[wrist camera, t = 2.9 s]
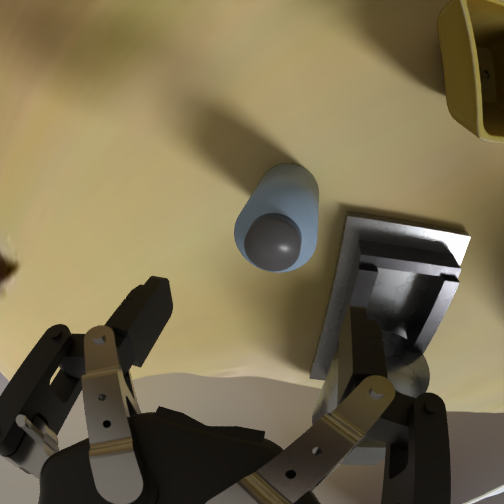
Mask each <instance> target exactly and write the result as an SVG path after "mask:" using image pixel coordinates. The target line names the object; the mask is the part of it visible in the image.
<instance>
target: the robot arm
mask: <svg viewBox="0 0 504 504" xmlns="http://www.w3.org/2000/svg"><path fill="white" fill-rule="evenodd" d="M172 310H173V302H172V296H171V291H170V285H169V281H168V279H167V278H162V277H157V276H151V277H150V278H149V279H148V280H147V282H146V283H145V284H144V285H139V286H137V287H136V288H134V289H133V290H131V292H130V293H129V294H128V295H127V297H126V299H124V301H123V302H122V303H121V305H120V306H119V307H118V308H117V309H116V311H115V312H114V313H113V315H112V316H111V317H110V319H109V320H108V321H107V322H106V324H105V325H104V326H103V325H100V326H96V327H93V328H91V329H90V330H89V331H88V332H87V333H86V334H71V332H70V330H69V328H68V327H67V326H66V325H63V324H57V325H54V326H52V327H50V328H49V329H48V330H47V331H46V332H45V333H44V335H43V336H42V337H41V339H40V340H39V341H38V343H37V344H36V345H35V347H34V348H33V349H32V351H31V352H30V353H29V355H28V356H27V358H26V359H25V360H24V362H23V363H22V365H21V366H20V367H19V369H18V370H17V372H16V373H15V375H14V376H13V378H12V379H11V381H10V382H9V384H8V385H7V387H6V388H5V390H4V391H3V393H2V395H1V396H0V455H1V456H2V457H3V458H5V459H6V460H8V461H9V462H10V463H12V464H13V465H14V466H16V467H19V468H20V469H22V470H23V471H25V472H26V473H28V474H33V475H34V476H35V477H37V478H39V479H40V497H39V503H38V504H320V502H319V501H318V499H317V498H316V496H315V495H314V493H313V492H312V490H314V489H315V488H316V487H317V486H318V485H319V484H320V483H321V482H322V481H323V480H324V479H326V477H328V476H329V474H331V473H332V471H333V470H335V468H336V467H337V466H338V465H339V464H340V463H341V462H342V461H343V460H344V459H345V458H346V457H347V456H348V455H349V454H350V453H351V452H352V451H353V450H354V449H355V447H356V446H357V445H358V444H359V443H360V442H361V441H362V440H363V439H364V437H365V436H367V437H370V438H373V439H376V440H379V441H382V442H385V443H386V452H385V469H384V480H383V490H382V499H381V504H450V500H451V499H450V497H451V473H450V472H451V471H450V449H449V436H448V424H447V415H446V407H445V404H444V402H443V400H442V399H441V398H440V397H439V396H438V395H436V394H434V393H422V394H420V395H419V396H418V397H417V398H414V397H411V396H408V395H405V394H402V393H400V392H398V391H397V390H395V388H394V386H393V384H392V383H391V382H390V381H389V380H388V376H387V368H386V359H385V352H384V344H383V341H382V340H383V337H382V331H381V328H380V327H379V325H378V324H377V322H376V320H367V313H366V308H365V307H359V306H350V305H349V306H348V307H347V311H346V314H345V317H344V321H343V324H342V328H341V331H340V336H339V351H338V396H337V408H336V409H334V410H333V411H332V412H331V413H327V414H325V415H324V416H322V417H321V418H320V419H319V420H318V421H317V422H316V423H315V424H314V425H313V426H311V427H310V428H309V429H308V430H307V431H306V432H305V433H303V434H302V435H301V436H300V437H299V438H298V439H296V440H295V441H294V442H293V443H292V444H291V445H289V446H288V447H287V448H286V449H285V450H283V449H282V448H281V447H280V446H278V445H277V444H275V443H274V442H272V441H270V440H268V439H265V438H264V435H265V431H259V430H254V429H249V428H243V427H238V426H233V427H232V426H231V427H230V426H226V427H224V426H220V427H219V426H206V425H204V424H202V423H200V422H198V421H196V420H195V419H192V418H191V417H189V416H187V415H185V414H184V413H180V412H177V411H173V410H170V409H167V408H164V407H160V406H159V407H158V409H157V411H156V412H150V413H141V411H140V408H139V405H138V402H137V398H136V394H135V390H134V386H133V382H132V378H131V373H130V370H129V369H130V368H131V366H132V365H134V366H138V367H141V366H142V365H143V363H144V361H145V359H146V358H147V356H148V354H149V352H150V351H151V349H152V347H153V346H154V344H155V342H156V340H157V339H158V337H159V335H160V334H161V332H162V330H163V328H164V327H165V325H166V323H167V322H168V320H169V318H170V317H171V314H172ZM58 366H59V367H60V368H61V369H60V370H59V372H58V374H57V375H56V377H55V378H54V380H53V382H52V383H51V385H50V379H51V377H52V376H53V374H54V373H55V371H56V369H57V368H58ZM81 390H82V391H83V400H84V409H85V416H86V423H87V429H88V436H89V438H87V439H85V440H83V441H81V442H78V443H76V444H74V445H72V446H70V447H68V448H65V449H63V450H61V451H59V447H58V438H57V435H58V433H59V431H60V429H61V427H62V425H63V423H64V421H65V419H66V418H67V415H68V414H69V412H70V410H71V408H72V406H73V405H74V403H75V401H76V399H77V397H78V395H79V394H80V392H81Z"/></svg>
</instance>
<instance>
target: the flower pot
mask: <svg viewBox="0 0 504 504" xmlns="http://www.w3.org/2000/svg"><path fill="white" fill-rule="evenodd" d="M437 31H438V38H439V43H440V49H441V55H442V62H443V69H444V78H445V89H446V101H447V106H448V110H449V112H450V114H451V116H452V117H453V118H454V119H455V120H456V121H457V122H458V123H459V124H461V125H462V126H464V127H465V128H466V129H468V130H469V131H470V132H472V133H473V134H474V135H476V136H477V137H478V138H480V139H481V140H483V141H487V142H497V143H504V1H501V0H450V1H449V2H448V3H447V5H446V6H445V7H444V8H443V10H442V11H441V12H440V14H439V17H438V21H437ZM485 71H486V72H488V75H489V76H488V78H486V77H485V76H484V72H485Z"/></svg>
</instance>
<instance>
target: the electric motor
mask: <svg viewBox="0 0 504 504" xmlns="http://www.w3.org/2000/svg"><path fill="white" fill-rule="evenodd" d="M469 240H470V236H469V234H468V233H467V232H465V231H460V230H455V229H450V228H445V227H439V226H434V225H429V224H423V223H417V222H412V221H406V220H400V219H394V218H388V217H382V216H375V215H369V214H362V213H355V212H348V211H347V212H346V218H345V224H344V229H343V235H342V240H341V245H340V250H339V255H338V260H337V265H336V270H335V275H334V279H333V284H332V289H331V293H330V297H329V302H328V306H327V310H326V314H325V318H324V322H323V326H322V330H321V334H320V338H319V342H318V346H317V349H316V353H315V357H314V360H313V364H312V367H311V371H310V379H318V380H325V382H324V385H323V387H322V390H321V393H320V395H319V398H318V400H317V403H316V406H315V408H314V411H313V415H312V426H313V425H314V424H315V423H316V422H317V421H318V420H319V419H320V418H321V417H322V416H324V415H325V414H327V413H331V412H332V411H333V410H334V409H336V408H337V396H338V351H339V336H340V331H341V328H342V324H343V321H344V317H345V314H346V311H347V307H348V306H349V305H350V306H359V307H365V308H366V313H367V320H376V322H377V324H378V325H379V327H380V328H381V331H382V337H383V340H382V341H383V344H384V352H385V359H386V368H387V376H388V380H389V381H390V382H391V383H392V384H393V386H394V388H395V390H397V391H398V392H400V393H402V394H405V395H408V396H411V397H414V398H417V397H418V396H419V395H420V394H422V393H425V392H426V390H427V388H428V385H429V380H430V372H429V367H428V364H427V361H426V359H425V357H424V356H423V353H424V351H425V350H426V348H427V346H428V345H429V343H430V341H431V339H432V337H433V336H434V334H435V332H436V330H437V328H438V326H439V324H440V323H441V321H442V319H443V317H444V315H445V313H446V311H447V309H448V307H449V305H450V303H451V301H452V298H453V296H454V294H455V292H456V290H457V288H458V285H459V283H460V282H459V280H458V276H459V274H460V271H461V267H460V264H461V262H462V259H463V256H464V254H465V251H466V248H467V246H468V243H469ZM385 452H386V443H385V442H382V441H379V440H376V439H373V438H370V437H367V436H365V437H364V439H363V440H362V441H361V442H360V443H359V444H358V445H357V446H356V447H355V449H354V450H353V451H352V452H351V453H350V454H349V455H348V456H347V457H346V458H345V459H344V460H343V461H342V462H341V463H340V464H348V465H350V464H351V465H377V464H378V463H379V462H380V461H381V460H382V459H384V458H385Z"/></svg>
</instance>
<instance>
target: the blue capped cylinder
mask: <svg viewBox="0 0 504 504" xmlns="http://www.w3.org/2000/svg"><path fill="white" fill-rule="evenodd" d="M318 207H319V188H318V184H317V182H316V180H315V178H314V177H313V175H312V174H311V173H310V172H309V171H308V170H306V169H305V168H303V167H301V166H299V165H296V164H288V163H286V164H280V165H277V166H274V167H273V168H271V169H270V170H268V171H267V172H266V173H265V175H264V176H263V178H262V179H261V181H260V182H259V184H258V186H257V187H256V189H255V190H254V192H253V194H252V195H251V197H250V198H249V200H248V202H247V203H246V205H245V207H244V208H243V210H242V211H241V213H240V215H239V216H238V218H237V221H236V223H235V228H234V237H235V242H236V245H237V247H238V249H239V251H240V252H241V254H242V255H243V256H244V258H245V259H246V260H248V261H249V262H250V263H251V264H253V265H254V266H256V267H258V268H260V269H262V270H266V271H270V272H288V271H292V270H295V269H297V268H299V267H301V266H302V265H304V264H305V263H306V262H307V261H308V260H309V259H310V258H311V256H312V255H313V253H314V251H315V248H316V244H317V231H318Z"/></svg>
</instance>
